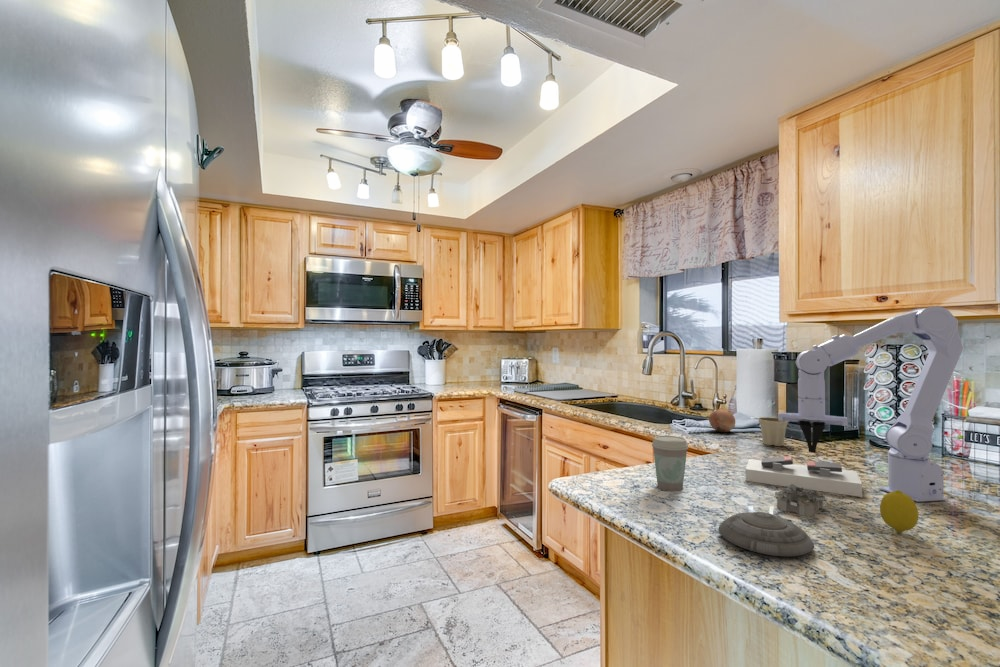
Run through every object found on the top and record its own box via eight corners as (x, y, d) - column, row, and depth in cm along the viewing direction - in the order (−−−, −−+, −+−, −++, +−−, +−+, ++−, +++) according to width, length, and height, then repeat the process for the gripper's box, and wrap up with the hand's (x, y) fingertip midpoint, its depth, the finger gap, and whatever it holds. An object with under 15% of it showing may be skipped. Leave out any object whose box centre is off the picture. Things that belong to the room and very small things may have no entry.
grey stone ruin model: (810, 519, 97) (810, 499, 97) (771, 509, 103) (771, 490, 103) (829, 507, 103) (829, 489, 103) (791, 498, 109) (791, 480, 109)
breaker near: (840, 470, 119) (839, 462, 119) (842, 474, 115) (841, 467, 115) (807, 468, 122) (806, 461, 123) (807, 473, 118) (807, 465, 118)
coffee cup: (648, 489, 115) (648, 440, 115) (655, 480, 123) (654, 433, 123) (686, 495, 111) (686, 443, 111) (690, 485, 119) (690, 437, 119)
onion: (718, 437, 190) (716, 413, 195) (741, 434, 183) (738, 409, 188) (705, 431, 185) (703, 406, 190) (728, 428, 178) (726, 402, 183)
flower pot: (764, 440, 171) (764, 416, 171) (793, 444, 164) (793, 419, 164) (753, 443, 165) (753, 418, 165) (782, 448, 158) (782, 422, 158)
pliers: (808, 467, 131) (804, 455, 144) (808, 472, 131) (804, 460, 144) (852, 472, 126) (844, 459, 139) (852, 478, 126) (844, 464, 139)
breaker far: (793, 462, 124) (791, 455, 124) (793, 467, 120) (791, 459, 120) (763, 464, 128) (762, 457, 128) (762, 469, 123) (761, 461, 124)
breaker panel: (856, 483, 120) (856, 464, 120) (862, 496, 110) (862, 476, 110) (749, 469, 132) (749, 452, 133) (745, 480, 122) (745, 462, 122)
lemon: (880, 524, 93) (879, 484, 94) (917, 532, 90) (917, 489, 90) (879, 533, 89) (879, 491, 89) (919, 541, 86) (918, 497, 86)
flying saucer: (705, 544, 86) (705, 513, 86) (735, 521, 96) (735, 494, 96) (801, 573, 75) (801, 538, 75) (823, 544, 85) (823, 513, 85)
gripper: (777, 397, 120) (778, 451, 120) (848, 401, 113) (849, 458, 113) (778, 394, 126) (779, 446, 126) (845, 398, 119) (846, 452, 119)
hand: (812, 451), depth 120 cm, fingers closed
